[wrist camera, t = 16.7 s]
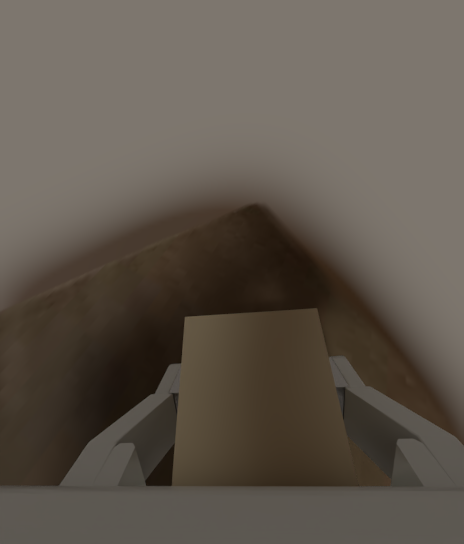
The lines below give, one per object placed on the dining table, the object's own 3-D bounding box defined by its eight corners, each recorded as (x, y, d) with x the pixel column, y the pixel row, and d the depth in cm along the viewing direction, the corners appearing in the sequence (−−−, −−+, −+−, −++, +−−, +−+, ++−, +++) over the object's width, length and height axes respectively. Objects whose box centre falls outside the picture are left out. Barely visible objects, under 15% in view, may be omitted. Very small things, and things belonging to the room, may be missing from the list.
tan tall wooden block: (226, 430, 13) (170, 493, 5) (225, 357, 14) (185, 317, 7) (296, 429, 12) (360, 494, 4) (285, 354, 14) (316, 308, 6)
